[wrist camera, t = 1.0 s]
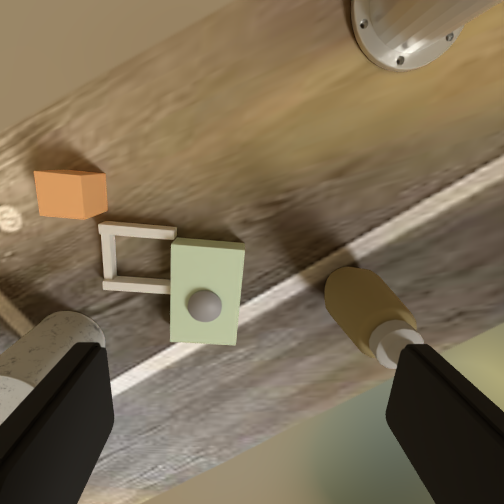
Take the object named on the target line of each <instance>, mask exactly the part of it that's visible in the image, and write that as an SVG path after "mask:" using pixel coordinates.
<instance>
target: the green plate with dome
mask: <svg viewBox="0 0 504 504" xmlns="http://www.w3.org/2000/svg"><path fill="white" fill-rule="evenodd" d="M98 228H99V234H101V241H102V254H103V268H104V280H103V290H116V291H131V292H145V293H159V294H171V301H170V342H185V343H203V344H220V345H236V337H237V326H238V316H239V306H240V295H241V285H242V275H243V265H244V254H245V244H244V243H238V242H227V241H215V240H203V239H191V238H179V237H177V238H176V239H175V237H176V236H177V227H171V226H160V225H148V224H137V223H125V222H114V221H104V222H102V223H100V224H98ZM115 235H120V236H132V237H144V238H156V239H168V240H174V239H175V240H174V241H173V242H172V244H171V280H168V279H155V278H141V277H127V276H117V266H116V249H115Z"/></svg>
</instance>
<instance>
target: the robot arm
mask: <svg viewBox="0 0 504 504" xmlns="http://www.w3.org/2000/svg"><path fill="white" fill-rule="evenodd" d="M502 1H504V0H351V20H352V27H353V31H354V34H355V37H356V40H357V42H358V44H359V46H360V48H361V50H362V51H363V53H364V54H365V55H366V56H367V57H368V59H369V60H371V61H372V62H373V63H375V64H376V65H377V66H379V67H381V68H384V69H386V70H390V71H395V72H407V71H411V70H415V69H418V68H420V67H422V66H425V65H427V64H428V63H430V62H432V61H433V60H435V59H437V58H438V57H439V56H441V55H442V54H443V53H444V52H445V51H446V50H448V48H449V47H450V46H451V45H452V44H453V43H454V41H455V40H456V39H457V37H458V35H459V34H460V32H461V31H462V29H463V27H464V25H465V24H466V23H468V22H469V21H471V20H473V19H474V18H476V17H478V16H479V15H481V14H482V13H484V12H486V11H487V10H489V9H491V8H492V7H494V6H496V5H497V4H499V3H500V2H502ZM360 25H361V26H362V27H363V29H362V28H361V27H360ZM397 62H398V64H397ZM386 421H387V423H388V425H389V427H390V429H391V431H392V432H393V434H394V436H395V437H396V439H397V441H398V442H399V444H400V445H401V447H402V449H403V450H404V452H405V454H406V455H407V457H408V459H409V460H410V462H411V464H412V465H413V467H414V468H415V470H416V471H417V474H418V475H419V477H420V479H421V480H422V482H423V483H424V485H425V487H426V488H427V490H428V492H429V493H430V495H431V497H432V498H433V500H434V502H435V503H436V504H504V412H503V411H502V410H501V409H500V408H499V407H498V406H497V405H495V404H494V403H493V402H492V401H491V400H490V399H489V398H487V397H486V396H485V395H484V394H483V393H482V392H481V391H479V389H478V388H476V387H475V386H474V385H473V384H472V383H471V382H470V381H469V380H467V379H466V378H465V377H464V376H463V375H462V374H461V373H460V372H459V371H457V370H456V369H455V368H454V367H453V366H452V365H450V363H448V362H447V361H446V360H445V359H444V358H443V357H442V356H441V355H440V354H438V353H437V352H436V351H435V350H434V349H433V348H432V347H431V346H429V345H427V344H407V345H406V346H405V348H404V349H402V350H401V352H400V356H399V360H398V364H397V368H396V372H395V376H394V380H393V385H392V389H391V393H390V397H389V401H388V405H387V409H386ZM113 423H114V410H113V402H112V394H111V385H110V377H109V368H108V360H107V351H106V348H104V347H101V345H100V343H98V342H77V343H75V344H74V345H73V346H72V347H71V349H70V350H69V351H68V352H67V353H66V354H65V355H64V356H63V357H62V358H61V359H60V361H59V362H58V363H57V364H56V365H55V366H54V367H53V368H52V369H51V370H50V371H49V373H48V374H47V375H46V376H45V377H44V378H43V379H42V380H41V381H40V382H39V383H38V385H37V386H36V387H35V388H34V389H33V390H32V391H31V392H30V393H29V394H28V396H27V397H26V398H25V399H24V400H23V401H22V402H21V403H20V404H19V405H18V406H17V408H16V409H15V410H14V411H13V412H12V413H11V414H10V415H9V416H8V417H7V418H6V420H5V421H4V422H3V423H2V424H1V425H0V504H77V503H78V501H79V499H80V497H81V494H82V492H83V490H84V488H85V486H86V484H87V482H88V479H89V477H90V475H91V473H92V471H93V469H94V467H95V465H96V462H97V460H98V458H99V456H100V454H101V452H102V450H103V448H104V445H105V443H106V441H107V439H108V437H109V435H110V433H111V430H112V427H113Z"/></svg>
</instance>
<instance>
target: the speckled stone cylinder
mask: <svg viewBox="0 0 504 504" xmlns="http://www.w3.org/2000/svg"><path fill="white" fill-rule="evenodd" d="M77 342H98V343H100V345H101V347H104V348H105V336H104V334H103V332H102V330H101V328H100V327H99V326H98V324H97V323H96V322H95V321H93V320H92V319H91V318H89V317H87V316H85V315H84V314H81V313H78V312H73V311H60V312H56V313H53V314H51V315H49V316H47V317H46V318H45V319H44V320H42V322H41V323H39V324H38V325H37V326H36V327H34V328H33V329H32V330H31V331H29V332H28V333H27V334H26V335H24V336H23V337H22V338H21V339H19V340H18V341H17V342H16V343H15V344H13V345H12V346H11V347H10V348H8V349H7V350H6V351H5V352H3V353H2V354H1V355H0V425H1V424H2V423H3V422H4V421H5V420H6V418H7V417H8V416H9V415H10V414H11V413H12V412H13V411H14V410H15V409H16V408H17V406H18V405H19V404H20V403H21V402H22V401H23V400H24V399H25V398H26V397H27V396H28V394H29V393H30V392H31V391H32V390H33V389H34V388H35V387H36V386H37V385H38V383H39V382H40V381H41V380H42V379H43V378H44V377H45V376H46V375H47V374H48V373H49V371H50V370H51V369H52V368H53V367H54V366H55V365H56V364H57V363H58V362H59V361H60V359H61V358H62V357H63V356H64V355H65V354H66V353H67V352H68V351H69V350H70V349H71V347H72V346H73V345H74V344H75V343H77Z"/></svg>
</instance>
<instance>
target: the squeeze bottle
mask: <svg viewBox="0 0 504 504" xmlns="http://www.w3.org/2000/svg"><path fill="white" fill-rule="evenodd" d="M324 298H325V305H326V309H327V310H328V312H329V313H330V315H331V316H332V317H333V319H334V320H335V321H336V322H337V323H338V325H339V326H340V327H341V328H342V329H343V331H344V332H345V333H346V334H347V335H348V337H349V338H350V339H351V340H352V341H353V343H354V344H355V345H356V346H357V347H358V349H359V350H360V351H361V352H362V353H364V354H365V355H367V356H369V357H371V358H376V359H377V360H378V361H379V363H380V364H381V365H383V366H385V367H386V368H391V369H396V368H397V364H398V360H399V356H400V352H401V350H402V349H404V348H405V346H406V345H407V344H424V340H423V338H422V337H421V335H420V333H419V332H417V331H416V320H415V319H414V317H413V315H412V313H411V312H410V311H409V310H408V309H407V307H406V306H405V305H404V304H403V303H402V302H401V301H400V299H399V298H398V297H397V296H396V295H395V294H394V293H393V291H392V290H391V289H390V288H389V287H388V286H387V285H386V284H385V282H384V281H383V280H382V279H381V278H380V277H379V276H378V275H377V274H375V273H374V272H372V271H371V270H367V269H361V268H355V267H348V266H346V267H342V268H338V269H337V270H335V271H334V272H332V273H331V274H330V276H329V277H328V278H327V281H326V284H325V296H324Z"/></svg>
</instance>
